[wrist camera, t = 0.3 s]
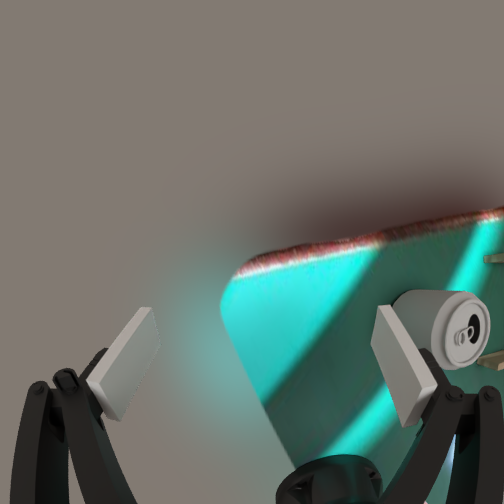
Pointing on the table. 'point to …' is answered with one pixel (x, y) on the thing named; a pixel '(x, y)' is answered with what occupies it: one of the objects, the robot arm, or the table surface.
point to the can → (445, 324)
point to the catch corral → (500, 358)
